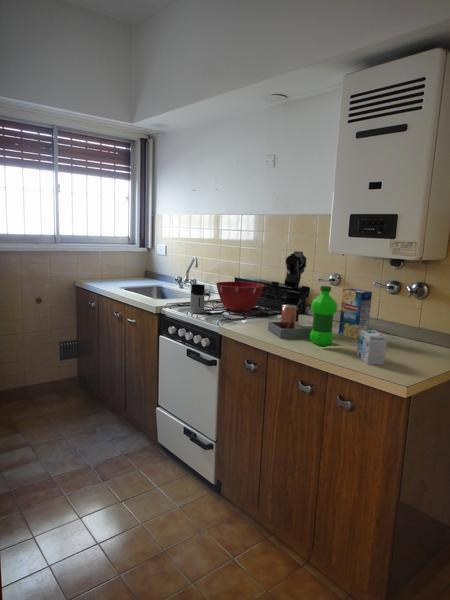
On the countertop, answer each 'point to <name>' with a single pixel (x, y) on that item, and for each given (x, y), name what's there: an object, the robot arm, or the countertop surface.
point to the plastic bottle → (323, 317)
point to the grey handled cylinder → (197, 298)
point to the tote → (288, 331)
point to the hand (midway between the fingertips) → (287, 304)
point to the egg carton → (303, 325)
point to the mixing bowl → (239, 295)
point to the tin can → (288, 316)
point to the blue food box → (354, 312)
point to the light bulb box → (371, 347)
